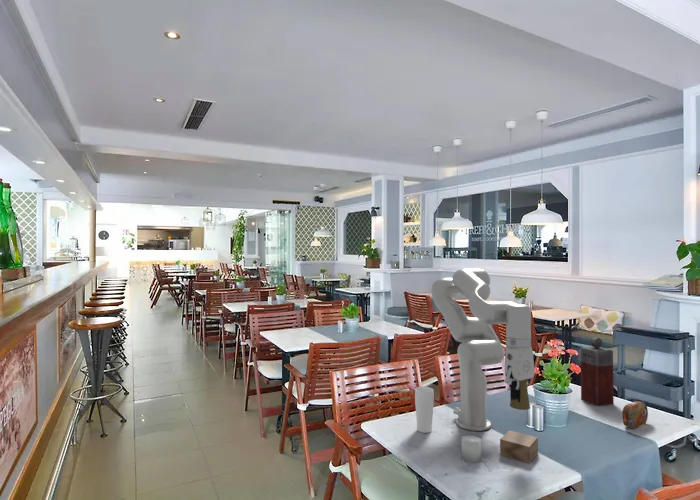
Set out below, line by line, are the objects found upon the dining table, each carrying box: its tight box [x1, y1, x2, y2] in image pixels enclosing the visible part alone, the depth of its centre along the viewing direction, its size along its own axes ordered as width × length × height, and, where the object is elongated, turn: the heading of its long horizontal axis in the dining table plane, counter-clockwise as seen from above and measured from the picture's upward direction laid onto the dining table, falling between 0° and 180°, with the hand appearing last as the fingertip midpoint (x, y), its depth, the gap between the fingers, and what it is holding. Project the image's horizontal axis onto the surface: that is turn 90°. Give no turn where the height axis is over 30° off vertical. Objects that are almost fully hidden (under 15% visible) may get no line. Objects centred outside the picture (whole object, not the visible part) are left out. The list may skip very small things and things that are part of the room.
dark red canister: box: [580, 336, 615, 407], centre depth 190 cm, size 9×11×28 cm
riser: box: [499, 430, 539, 464], centre depth 138 cm, size 9×9×5 cm
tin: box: [621, 400, 649, 430], centre depth 162 cm, size 15×3×8 cm, turn 123°
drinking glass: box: [414, 386, 435, 434], centre depth 157 cm, size 7×7×15 cm
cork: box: [509, 377, 531, 411], centre depth 138 cm, size 6×6×11 cm
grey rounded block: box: [460, 435, 482, 464], centre depth 135 cm, size 6×6×6 cm
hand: (519, 399), depth 138 cm, fingers closed on cork, 3 cm apart
